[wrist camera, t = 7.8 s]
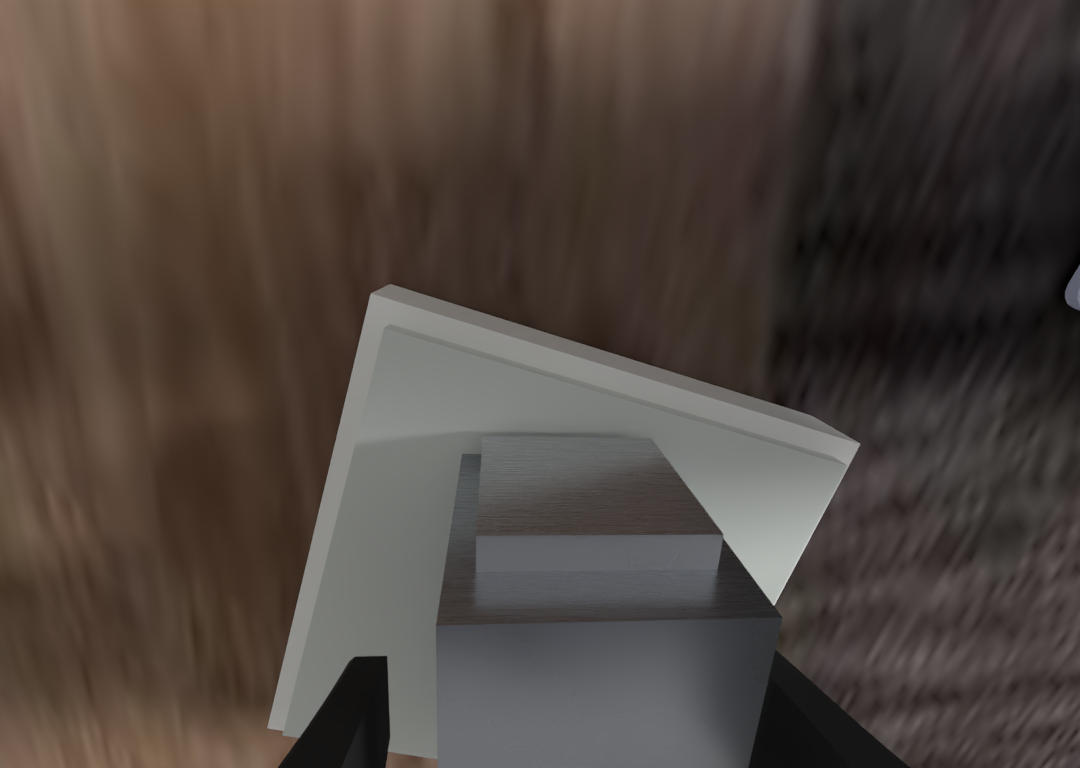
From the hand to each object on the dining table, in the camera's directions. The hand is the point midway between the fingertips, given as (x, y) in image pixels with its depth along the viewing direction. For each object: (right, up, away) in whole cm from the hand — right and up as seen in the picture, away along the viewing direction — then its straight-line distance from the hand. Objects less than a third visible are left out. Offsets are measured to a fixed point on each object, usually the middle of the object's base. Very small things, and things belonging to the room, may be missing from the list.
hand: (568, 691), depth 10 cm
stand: (0, +1, +5) cm, 5 cm away
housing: (0, +1, +2) cm, 2 cm away
